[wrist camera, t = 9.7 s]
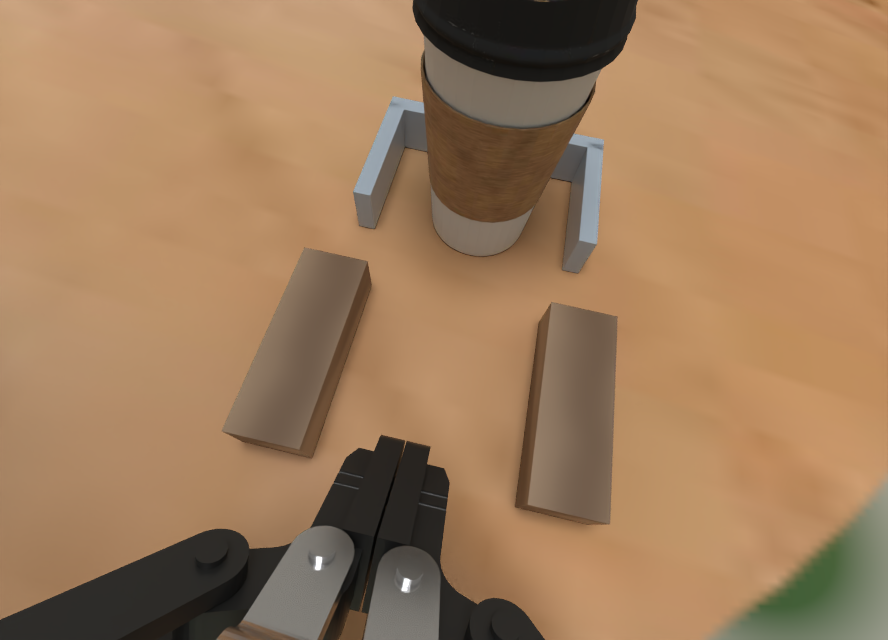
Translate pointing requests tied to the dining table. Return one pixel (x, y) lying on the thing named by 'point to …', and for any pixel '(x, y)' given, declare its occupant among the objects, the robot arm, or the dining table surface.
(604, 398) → the clamp blocks
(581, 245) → the corral
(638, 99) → the dining table surface
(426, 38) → the coffee cup
